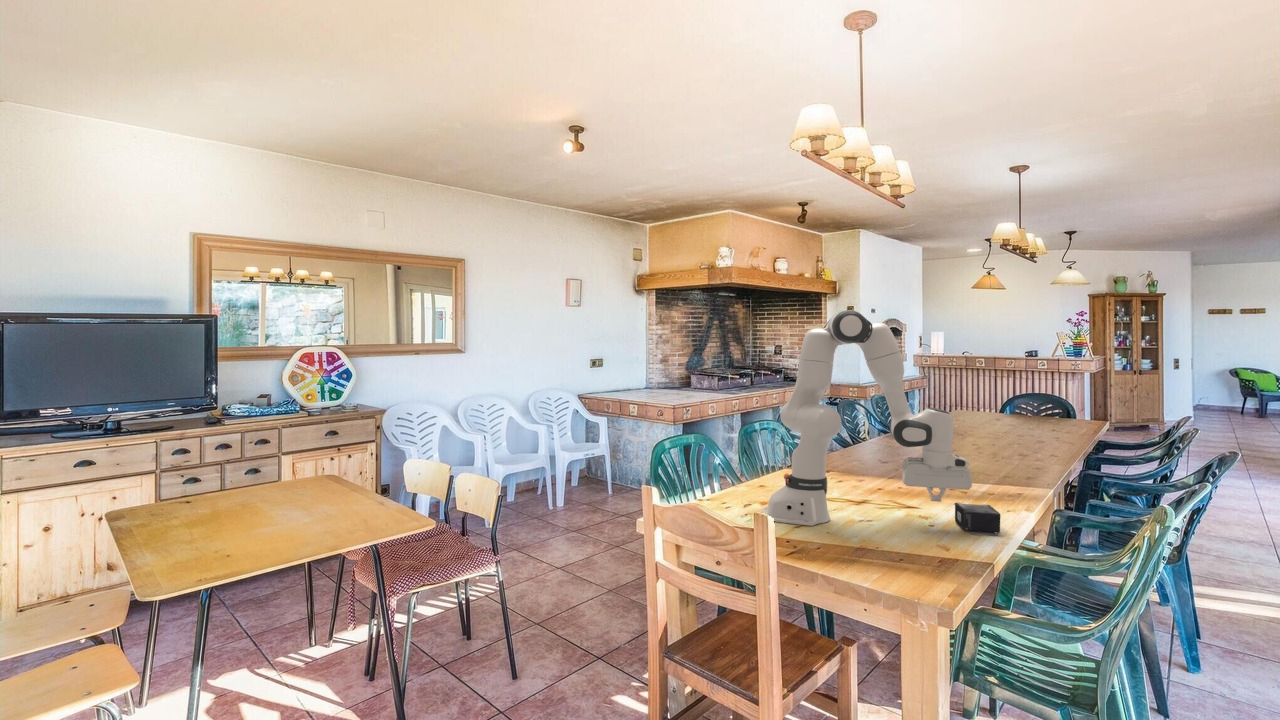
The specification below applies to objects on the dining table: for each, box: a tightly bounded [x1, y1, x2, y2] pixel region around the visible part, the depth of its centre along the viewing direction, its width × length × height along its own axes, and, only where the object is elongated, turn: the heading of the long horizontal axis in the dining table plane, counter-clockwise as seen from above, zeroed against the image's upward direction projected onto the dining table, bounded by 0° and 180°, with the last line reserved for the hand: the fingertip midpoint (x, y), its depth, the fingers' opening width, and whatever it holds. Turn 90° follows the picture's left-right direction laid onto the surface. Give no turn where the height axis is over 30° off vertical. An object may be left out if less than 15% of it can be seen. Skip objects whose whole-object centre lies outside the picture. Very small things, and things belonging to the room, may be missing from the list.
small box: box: [954, 502, 1001, 534], centre depth 194 cm, size 11×6×10 cm
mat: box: [967, 531, 999, 537], centre depth 194 cm, size 8×13×1 cm, turn 169°
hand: (935, 501), depth 196 cm, fingers closed
